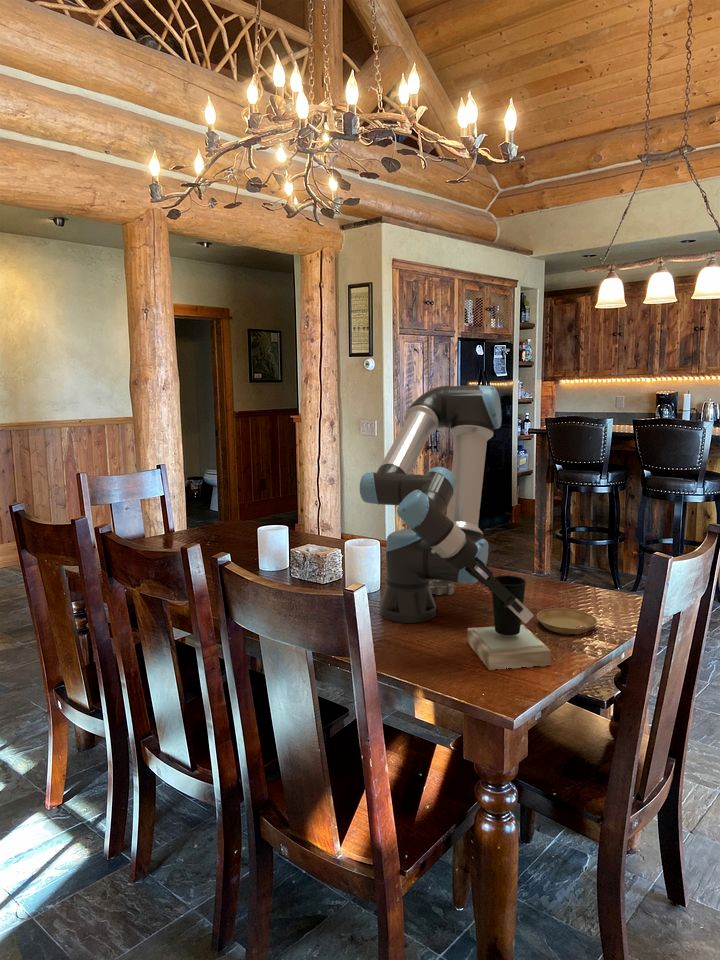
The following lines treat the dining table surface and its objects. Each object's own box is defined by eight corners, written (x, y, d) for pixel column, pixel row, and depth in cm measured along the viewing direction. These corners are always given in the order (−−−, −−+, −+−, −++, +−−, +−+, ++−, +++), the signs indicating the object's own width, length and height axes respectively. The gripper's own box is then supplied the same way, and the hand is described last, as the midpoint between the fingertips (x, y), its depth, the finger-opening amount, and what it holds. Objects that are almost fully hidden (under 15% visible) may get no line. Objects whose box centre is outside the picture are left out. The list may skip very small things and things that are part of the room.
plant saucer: (603, 624, 168) (604, 614, 168) (587, 642, 156) (587, 632, 156) (547, 613, 177) (548, 604, 176) (527, 630, 165) (528, 620, 164)
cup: (521, 625, 153) (523, 575, 151) (526, 637, 145) (528, 585, 143) (488, 624, 153) (489, 575, 152) (491, 636, 146) (492, 584, 144)
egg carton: (449, 588, 200) (449, 575, 200) (456, 596, 193) (456, 582, 192) (415, 590, 199) (415, 577, 198) (421, 597, 191) (421, 584, 191)
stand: (467, 642, 157) (467, 626, 156) (522, 638, 159) (523, 622, 158) (489, 670, 141) (489, 652, 141) (550, 665, 143) (551, 648, 142)
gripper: (431, 548, 155) (495, 609, 159) (455, 571, 135) (528, 641, 139) (453, 525, 155) (516, 587, 159) (480, 545, 135) (552, 616, 139)
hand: (522, 612), depth 149 cm, fingers closed on cup, 8 cm apart
